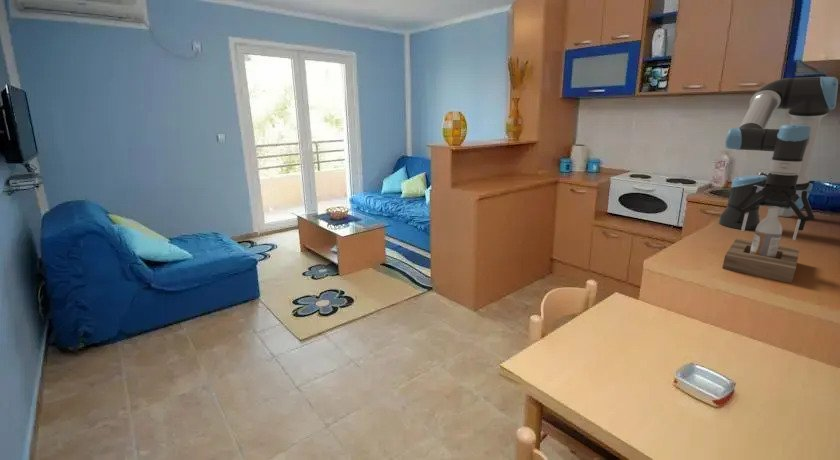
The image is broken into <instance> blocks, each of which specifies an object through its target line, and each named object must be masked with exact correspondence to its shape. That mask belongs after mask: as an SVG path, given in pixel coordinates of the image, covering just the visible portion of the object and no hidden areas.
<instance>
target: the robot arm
mask: <svg viewBox="0 0 840 460" xmlns="http://www.w3.org/2000/svg"><path fill="white" fill-rule="evenodd" d="M838 88H839V80H838V78H837V77H835V76H811V77H810V76H809V77H808V76H807V77H787V78H785V77H784V78H780V79H777V80H774V81H772V82H768V83H767V84H765V85H764V86H761V88H759V89H758V90H757V91H756V92H754V93H753V95H752V96H751V98H750V100H749V108H748V110H747V111H746V113H745V115H744V117H743V119H742V120H741V122H740V125H739V126H738V127H732V128H729V130H728V131H727V134H726V137H725V148H726V149H728V150H729V149H730V150H737V151H739V150H741V151H758V152H759V151H761V152H773V154H772V158H771V160H770V164H769V165H770V166H769V169H768V172H769V173H767V175H761V174H751V175H749V174H748V175H739V176H736V177H734V178H733V180H732V183H731V186H730V193H729V197H728V200H727V205H726V208H725V210H724V211H723V212H722V214H721V216H720V217H719V221H718V223H719V225H722V226H724V227H728V228H732V229H738V230H740V232H741V233H744V232H745V230H747V231H748V230H749V231H750V230H751V231H753V230H754V231H755V230H756V227H757V225H758V224H759V223H760V222H761V218H760V213H759V210H760V206H761V207H763V206H764V207H768V208H769V207H770V206H774V207H779V208H784V209H793V211H794V213H795V214H796V216H797V218H798V219H797V221H796V225H795V228H794V231H793V232H794V233H793V235H792V239H791V241H796V240H797V236H798V232H799V231H801V232H802V231H803V230H804V227H805V224H806V222H809V221H814V220H815V215H814V212H813V209H812V207H811V204H810V202H809V196H810V195H811V194H810V193H811V192H812V189H813V188H814V187H813V186H814V183H811V182H810V181H811V179H810V177H808V176H807V172H808V169H809V165H810V161H811V158H812V155H813V150H814V146H815V144H816V139H817V136H818V133H819V130H820V125H821V122H822V119H823V118H824V117H825V116H827V115H828V114H829V112H830V110H834V109H835V108H836V105H837V98H838ZM780 109H781V110H788V113H787V114H788V116H790V117H791V122H790V124H782V125H781V126H780V127H779V128H767V125H768V123H769V122H770V118H772V115H773V113H774V111H776V110H780ZM803 208H804V209H805V212H806V215H805V214H804V213H803V212H802V210H801V209H803Z"/></svg>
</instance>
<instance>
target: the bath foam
mask: <svg viewBox="0 0 840 460" xmlns="http://www.w3.org/2000/svg"><path fill="white" fill-rule="evenodd" d="M779 212H780V208H779V207H774V206H770V207H769V206H768V210H767V213H766V217H764V218H763V219H762V220H760V223H759V224H758V225H757V227H756V229H755V230H754V234H753V238H752V241H753V242H752V246H751V250H750V254H755V255H760V256H765V257H771V258H775V257H776V253H777V250H778V246H780V242H781V239H782V234H783V226H782V224H781V222H780V220H779V217H780V216H779Z"/></svg>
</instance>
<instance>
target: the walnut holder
mask: <svg viewBox="0 0 840 460" xmlns="http://www.w3.org/2000/svg"><path fill="white" fill-rule="evenodd" d="M752 242H753V240H748V239H742V238H735V239H734V241H733V243H732V244H731V246H730V247H729V248H728V250H727V251H726V253H725V254H724V259H723V264H722V268H721V269H724V270H727V271H731V272H733V271H734V272H736V273H737V272H738V273H741V274H747V275H750V276H751V275H752V276H756V277H760V278H761V277H762V278H765V279H769V280H775V281H778V282H779V281H780V282H784V283H789V284H792V283H793V280H794V276H795V273H796V269H797V265H798V260H799V254H800V249H799V248H793V247H788V246H782V245H779V246H778V250H777V253H776V257H775V258H771V257H765V256H760V255H755V254H750V250H751V246H752Z"/></svg>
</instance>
